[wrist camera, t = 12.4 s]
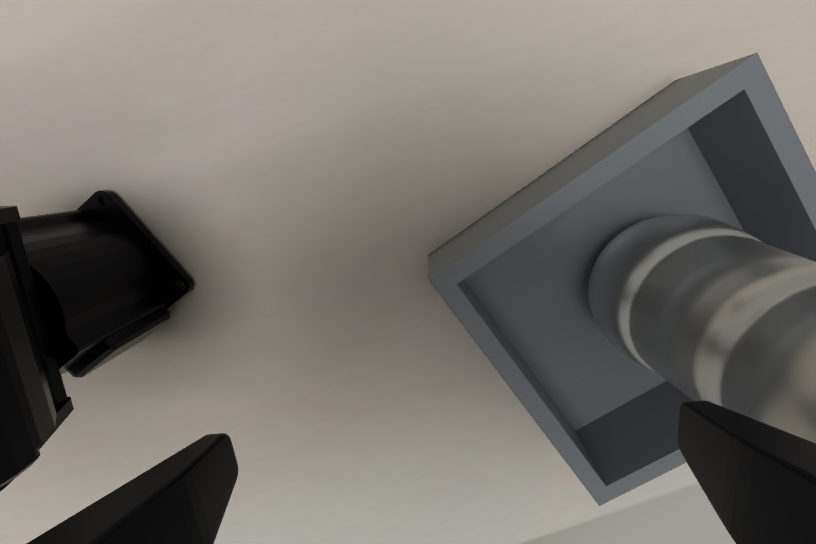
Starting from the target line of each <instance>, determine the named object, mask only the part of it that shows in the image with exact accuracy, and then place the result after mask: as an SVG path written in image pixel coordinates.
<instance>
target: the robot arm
mask: <svg viewBox="0 0 816 544" xmlns="http://www.w3.org/2000/svg"><path fill="white" fill-rule="evenodd" d="M104 197H106V198H107V200H108V203H107V204H106V203H105V201H104ZM180 281H181V282H183V283H184V285H185V288H183V287H181V285H180ZM193 286H194V284H193V281H192V279H191V278H190V277H189V276H188V274H187V273H186V272H185V271H184V270H183V269H182V268H181V267H180V266H179V264H178V263H177V262H176V261H175V260H174V259H173V258H172V257H171V256H170V254H169V253H168V252H167V251H166V250H165V249H164V248H163V247H162V246H161V244H160V243H159V242H158V241H157V240H156V239H155V238H154V237H153V236H152V234H151V233H150V232H149V231H148V230H147V229H146V228H145V227H144V226H143V224H142V223H141V222H140V221H139V220H138V219H137V218H136V217H135V215H134V214H133V213H132V212H131V211H130V210H129V209H128V208H127V207H126V205H125V204H124V203H123V202H122V201H121V200H120V199H119V198H118V197H117V195H116V194H115V193H113V192H112V191H109V190H103V191H97V192H95V193H94V194H93V195H92V196H91V197H90V198H89V199H88V200H87V201H86V202H85V203H84V204H82V205H81V206H80V207H79V208H78V209H77V210H76V211H69V212H61V213H54V214H46V215H38V216H31V217H23V218H20V216H19V212H18V209H17V206H0V491H1V490H3V489H4V488H5V487H6V486H7V485H8V484H9V483H11V482H12V481H13V480H14V479H15V478H16V477H17V476H19V475H20V474H21V473H22V472H24V471H25V470H26V469H27V468H29V467H30V466H31V465H32V464H33V463H34V462H35V461H36V460H37V459H38V457H39V456H40V451H39V449H40V448H41V447H42V446H43V445H44V444H45V442H46V441H47V440H48V439H49V438H50V437H51V435H52V434H53V433H54V432H55V431H56V429H57V428H58V427H59V426H60V425H61V424H62V422H63V421H64V420H65V419H66V418H67V417H68V415H69V414H70V413H71V412H72V411H73V409H74V408H73V404H72V401H71V398H70V397H67V395H66V391H65V388H64V384H63V381H62V377H61V374H63V373H65V372H67V371H68V372H69V373H70V374H71V375H72V376H73V377H83V376H85V375H87V374H88V373H90V372H92V371H93V370H95V369H96V368H98V367H100V366H101V365H103V364H105V363H106V362H108V361H109V360H111V359H113V358H114V357H116V356H117V355H119V354H121V353H122V352H124V351H126V350H127V349H129V348H130V347H132V346H134V345H135V344H137V343H139V342H140V341H142V340H143V339H144V338H145V337H147V336H148V335H149V334H150V333H152V332H153V331H154V330H155V329H157V328H158V327H159V326H160V325H162V324H163V323H164V322H165V321H167V320H168V319H169V318H170V313H171V312H170V311H169V310H168V309H169V308H170V307H172V306H173V305H174V304H175V303H177V302H178V301H179V300H180V299H182V298H183V297H184V296H185V295H187V294H188V293H189V292H190V291H191V290H192V289H193ZM677 442H678V446H679V449H680V451H681V453H682V455H683V457H684V458H685V460H686V462H687V464H688V465H689V467H690V469H691V470H692V472H693V474H694V475H695V477H696V479H697V480H698V482H699V484H700V485H701V487H702V489H703V491H704V492H705V494H706V496H707V497H708V499H709V501H710V503H711V504H712V506H713V508H714V509H715V511H716V513H717V514H718V516H719V518H720V519H721V521H722V523H723V524H724V526H725V527H726V529H727V531H728V532H729V534H730V535H731V537H732V538H733V540H734V541H735V542H736V544H816V443H814V442H811V441H808V440H806V439H803V438H801V437H798V436H796V435H793V434H791V433H788V432H786V431H783V430H780V429H778V428H775V427H773V426H770V425H768V424H765V423H763V422H760V421H758V420H755V419H753V418H750V417H747V416H745V415H742V414H740V413H737V412H735V411H732V410H730V409H727V408H725V407H722V406H719V405H717V404H714V403H712V402H709V401H705V400H700V401H686V402H683V403H682V404H681V405H680V408H679V418H678V431H677ZM237 476H238V464H237V460H236V457H235V453H234V449H233V446H232V442H231V439H230V437H229V436H228V435H227V434H225V433H222V434H209V435H206V436H204V437H202V438H201V439H199V440H197V441H196V442H194V443H192V444H191V445H189V446H187V447H186V448H184V449H182V450H181V451H179V452H177V453H176V454H174V455H172V456H171V457H169V458H167V459H166V460H164V461H163V462H161V463H159V464H158V465H156V466H154V467H153V468H151V469H149V470H148V471H146V472H144V473H143V474H141V475H139V476H138V477H136V478H134V479H133V480H131V481H129V482H128V483H126V484H124V485H123V486H121V487H120V488H118V489H116V490H115V491H113V492H111V493H110V494H108V495H106V496H105V497H103V498H101V499H100V500H98V501H96V502H95V503H93V504H91V505H90V506H88V507H86V508H85V509H83V510H82V511H80V512H78V513H77V514H75V515H73V516H72V517H70V518H68V519H67V520H65V521H63V522H62V523H60V524H58V525H57V526H55V527H53V528H52V529H50V530H48V531H47V532H45V533H43V534H42V535H40V536H39V537H37V538H35V539H34V540H32V541H30V542H29V543H27V544H214V541H215V538H216V535H217V533H218V530H219V527H220V524H221V522H222V519H223V516H224V513H225V510H226V508H227V505H228V502H229V499H230V497H231V494H232V491H233V488H234V485H235V483H236V480H237Z"/></svg>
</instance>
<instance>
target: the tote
mask: <svg viewBox="0 0 816 544" xmlns="http://www.w3.org/2000/svg"><path fill="white" fill-rule="evenodd" d="M673 215H699V216H707V217H710V218H713V219H716V220H719V221H721V222H724V223H726V224H729V225H731V226H733V227H736V228H738V229H741V230H743V231H745V232H747V233H749V234H750V235H752V236H754V237H755V238H757V239H759V240H760V241H762V242H763V243H765V244H768V245H770V246H773V247H776V248H779V249H782V250H784V251H787V252H790V253H793V254H795V255H798V256H801V257H804V258H807V259H809V260H812V261H815V262H816V172H815V170H814V168H813V166H812V164H811V162H810V160H809V158H808V156H807V154H806V152H805V150H804V148H803V145H802V143H801V141H800V139H799V137H798V135H797V133H796V131H795V129H794V127H793V125H792V123H791V121H790V119H789V117H788V115H787V113H786V111H785V109H784V107H783V105H782V102H781V100H780V98H779V96H778V94H777V92H776V90H775V88H774V86H773V84H772V82H771V80H770V78H769V76H768V74H767V72H766V70H765V68H764V66H763V64H762V61H761V59H760V57H759V55H758V53H755V54H752V55H749V56H746V57H743V58H740V59H737V60H734V61H731V62H728V63H725V64H722V65H719V66H716V67H713V68H711V69H708V70H705V71H702V72H699V73H696V74H693V75H690V76H687V77H684V78H681V79H678V80H675V81H674V82H673V83H671V84H670V85H668V86H667V87H665V88H664V89H663V90H661V91H660V92H658V93H657V94H656V95H654V96H653V97H651V98H650V99H648V100H647V101H646V102H644V103H643V104H641V105H640V106H639V107H637V108H636V109H634V110H633V111H632V112H630V113H629V114H627V115H626V116H624V117H623V118H622V119H620V120H619V121H617V122H616V123H615V124H613V125H612V126H610V127H609V128H607V129H606V130H605V131H603V132H602V133H600V134H599V135H598V136H596V137H595V138H593V139H592V140H591V141H589V142H588V143H586V144H585V145H583V146H582V147H581V148H579V149H578V150H576V151H575V152H574V153H572V154H571V155H569V156H568V157H567V158H565V159H564V160H562V161H561V162H559V163H558V164H557V165H555V166H554V167H552V168H551V169H550V170H548V171H547V172H545V173H544V174H542V175H541V176H540V177H538V178H537V179H535V180H534V181H533V182H531V183H530V184H528V185H527V186H526V187H524V188H523V189H521V190H520V191H518V192H517V193H516V194H514V195H513V196H511V197H510V198H509V199H507V200H506V201H504V202H503V203H501V204H500V205H499V206H497V207H496V208H494V209H493V210H492V211H490V212H489V213H487V214H486V215H485V216H483V217H482V218H480V219H479V220H477V221H476V222H475V223H473V224H472V225H470V226H469V227H468V228H466V229H465V230H463V231H462V232H461V233H459V234H458V235H456V236H455V237H453V238H452V239H451V240H449V241H448V242H446V243H445V244H444V245H442V246H441V247H439V248H438V249H436V250H435V251H434V252H432V253H431V254H429V281H430V282H431V284H432V285H433V286H434V288H435V289H436V290H437V292H438V293H439V294H440V296H441V297H442V298H443V300H444V301H445V302H446V303H447V305H448V306H449V307H450V309H451V310H452V311H453V313H454V314H455V315H456V317H457V318H458V319H459V321H460V322H461V323H462V325H463V326H464V327H465V329H466V330H467V331H468V333H469V334H470V335H471V337H472V338H473V339H474V341H475V342H476V343H477V345H478V346H479V347H480V349H481V350H482V351H483V353H484V354H485V355H486V356H487V358H488V359H489V360H490V362H491V363H492V364H493V366H494V367H495V368H496V370H497V371H498V372H499V374H500V375H501V376H502V378H503V379H504V380H505V382H506V383H507V384H508V386H509V387H510V388H511V390H512V391H513V392H514V394H515V395H516V396H517V398H518V399H519V400H520V402H521V403H522V404H523V405H524V407H525V408H526V409H527V411H528V412H529V413H530V415H531V416H532V417H533V419H534V420H535V421H536V423H537V424H538V425H539V427H540V428H541V429H542V431H543V432H544V433H545V435H546V436H547V437H548V439H549V440H550V441H551V443H552V444H553V445H554V447H555V448H556V449H557V451H558V452H559V453H560V454H561V456H562V457H563V458H564V460H565V461H566V462H567V464H568V465H569V466H570V468H571V469H572V470H573V472H574V473H575V474H576V476H577V477H578V478H579V480H580V481H581V482H582V484H583V485H584V486H585V488H586V489H587V490H588V492H589V493H590V494H591V496H592V497H593V498H594V500H595V501H596V502H597V503H598V505H599V506H600V505H602V504H604V503H606V502H608V501H610V500H612V499H614V498H616V497H618V496H620V495H622V494H624V493H626V492H628V491H630V490H632V489H634V488H636V487H638V486H640V485H642V484H644V483H646V482H648V481H650V480H652V479H654V478H656V477H658V476H660V475H662V474H664V473H666V472H668V471H670V470H672V469H674V468H676V467H678V466H680V465H682V464H684V463H686V460H685V458H684V457H683V455H682V453H681V451H680V449H679V446H678V442H677V431H678V418H679V408H680V405H681V404H682V403H683V402H686V401H694V400H692V399H691V398H690V397H688V396H687V395H686V394H684V393H683V392H682V391H680V390H679V389H678V388H676V387H675V386H674V385H672V384H671V383H670V382H668V381H667V380H666V379H664V378H663V377H662V376H660V375H658V374H656V373H654V372H652V371H650V370H649V369H647V368H645V367H643V366H641V365H640V364H638V363H636V362H635V361H633V360H632V359H630V358H629V357H627V356H626V355H624V354H623V353H621V352H620V351H618V350H617V349H616V348H615V347H614V346H613V345H612V344H611V343H610V342H609V341H608V340H607V339H606V337H605V336H604V334H603V333H602V331H601V329H600V328H599V326H598V324H597V322H596V320H595V318H594V316H593V314H592V311H591V308H590V306H589V298H588V286H589V279H590V275H591V272H592V268H593V266H594V264H595V262H596V260H597V258H598V256H599V255H600V254H601V252H602V251H603V250H604V248H605V247H606V246H607V244H608V243H609V242H610V241H611V240H613V239H614V238H615V237H616V236H617V235H618V234H619V233H621V232H622V231H624V230H625V229H627V228H628V227H630V226H632V225H634V224H636V223H638V222H640V221H643V220H646V219H650V218H654V217H658V216H673Z"/></svg>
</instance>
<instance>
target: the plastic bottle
mask: <svg viewBox="0 0 816 544" xmlns="http://www.w3.org/2000/svg"><path fill="white" fill-rule="evenodd" d="M588 298H589V306H590V308H591V311H592V314H593V316H594V318H595V320H596V322H597V324H598V326H599V328H600V329H601V331H602V333H603V334H604V336H605V337H606V339H607V340H608V341H609V342H610V343H611V344H612V345H613V346H614V347H615V348H616V349H617V350H618V351H620V352H621V353H623V354H624V355H626V356H627V357H629V358H630V359H632V360H633V361H635V362H636V363H638V364H640V365H641V366H643V367H645V368H647V369H649V370H650V371H652V372H654V373H656V374H658V375H660V376H662V377H663V378H664V379H666V380H667V381H668V382H670V383H671V384H672V385H674V386H675V387H676V388H678V389H679V390H680V391H682V392H683V393H684V394H686V395H687V396H688V397H690V398H691V399H692V400H694V401H700V400H705V401H709V402H712V403H714V404H717V405H719V406H722V407H725V408H727V409H730V410H732V411H735V412H737V413H740V414H742V415H745V416H747V417H750V418H753V419H755V420H758V421H760V422H763V423H765V424H768V425H770V426H773V427H775V428H778V429H780V430H783V431H786V432H788V433H791V434H793V435H796V436H798V437H801V438H803V439H806V440H808V441H811V442H814V443H816V262H815V261H812V260H809V259H807V258H804V257H801V256H798V255H795V254H793V253H790V252H787V251H784V250H782V249H779V248H776V247H773V246H770V245H768V244H765V243H763V242H762V241H760V240H759V239H757V238H755V237H754V236H752V235H750V234H749V233H747V232H745V231H743V230H741V229H738V228H736V227H733V226H731V225H729V224H726V223H724V222H721V221H719V220H716V219H713V218H710V217H707V216H699V215H673V216H658V217H654V218H650V219H646V220H643V221H640V222H638V223H636V224H634V225H632V226H630V227H628V228H627V229H625V230H624V231H622V232H621V233H619V234H618V235H617V236H616V237H615V238H614V239H613V240H611V241H610V242H609V243H608V244H607V246H606V247H605V248H604V250H603V251H602V252H601V254H600V255H599V256H598V258H597V260H596V262H595V264H594V266H593V268H592V272H591V275H590V279H589V286H588Z"/></svg>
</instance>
